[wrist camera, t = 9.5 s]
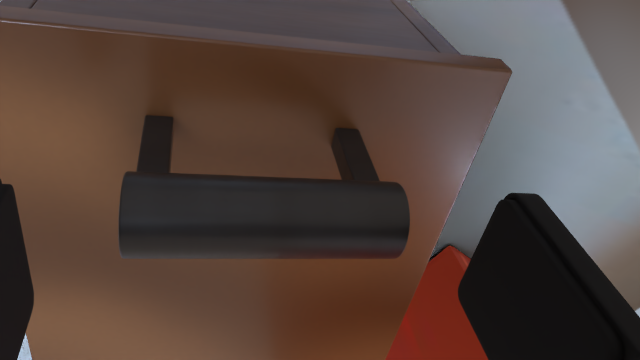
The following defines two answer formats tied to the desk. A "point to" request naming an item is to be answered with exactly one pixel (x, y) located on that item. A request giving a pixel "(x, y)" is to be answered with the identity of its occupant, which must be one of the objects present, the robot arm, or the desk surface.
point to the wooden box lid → (228, 184)
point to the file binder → (438, 316)
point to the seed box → (275, 18)
